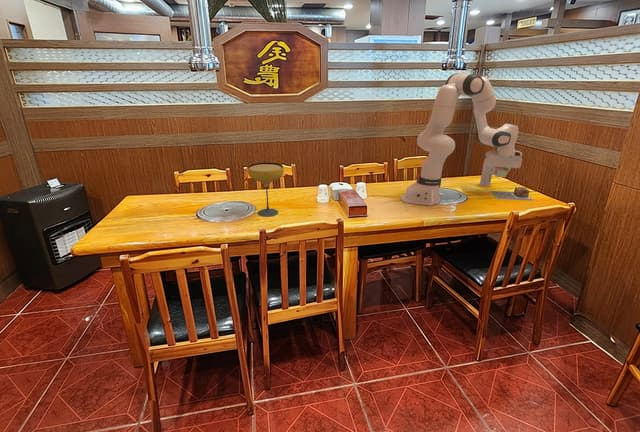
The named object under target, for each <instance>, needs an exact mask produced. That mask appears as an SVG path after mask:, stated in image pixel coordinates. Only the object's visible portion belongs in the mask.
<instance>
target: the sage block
mask: <svg viewBox="0 0 640 432" xmlns="http://www.w3.org/2000/svg"><path fill="white" fill-rule="evenodd" d="M506 170H507V169H504V168H498V167H496V168H495V171H497V172H496V174H493V176H495V177H496V178H506V176H507V175H506V172H507V171H506Z"/></svg>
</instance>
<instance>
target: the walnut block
mask: <svg viewBox="0 0 640 432" xmlns="http://www.w3.org/2000/svg"><path fill="white" fill-rule="evenodd" d="M513 192H514V195H515V196H516V197H519V198H528V196H529V195H530V190H529V189H528V188H527V187H520V186H519V187H517V186H516V187H514V191H513Z"/></svg>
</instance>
